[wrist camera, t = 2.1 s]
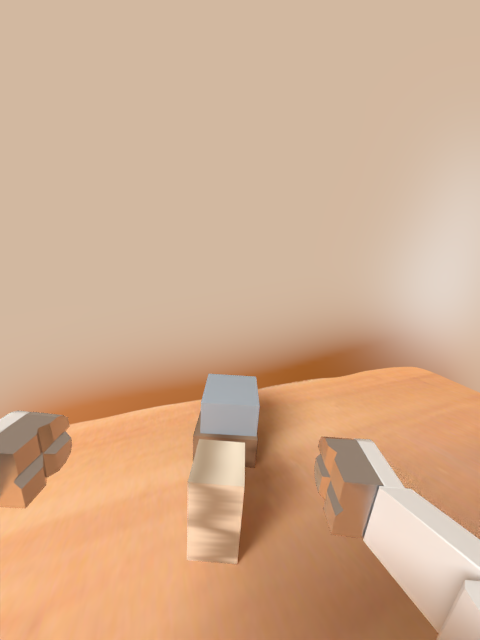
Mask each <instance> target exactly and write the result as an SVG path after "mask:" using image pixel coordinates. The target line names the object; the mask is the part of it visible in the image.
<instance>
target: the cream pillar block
mask: <svg viewBox="0 0 480 640" xmlns="http://www.w3.org/2000/svg"><path fill="white" fill-rule="evenodd" d="M244 487H245V443H243V442H230V441H218V440H205V439H199V441H198V445H197V449H196V453H195V457H194V460H193V464H192V468H191V472H190V476H189V479H188V516H187V560H193V561H205V562H217V563H229V564H237V562H238V551H239V540H240V530H241V519H242V509H243V498H244Z"/></svg>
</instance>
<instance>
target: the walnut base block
mask: <svg viewBox="0 0 480 640" xmlns="http://www.w3.org/2000/svg"><path fill="white" fill-rule="evenodd" d="M200 425H201V411H200V415H199V418H198V422H197V425H196V428H195V432H194V435H193V460H194V457H195V453H196V449H197V445H198V441H199V439H205V440H218V441H230V442H243V443H245V467H250V468H255V461H256V452H257V443H258V437H257V436H241V435H224V434H206V433H200Z"/></svg>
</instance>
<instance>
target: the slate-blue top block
mask: <svg viewBox="0 0 480 640" xmlns="http://www.w3.org/2000/svg"><path fill="white" fill-rule="evenodd" d="M259 408H260V405H259V397H258V389H257V381H256V377H251V376H236V375H235V376H234V375H220V374H209V375H208V379H207V382H206V386H205V390H204V394H203V397H202V401H201V425H200V433H206V434H224V435H241V436H257V427H258V417H259Z"/></svg>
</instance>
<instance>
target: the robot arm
mask: <svg viewBox="0 0 480 640" xmlns="http://www.w3.org/2000/svg"><path fill="white" fill-rule="evenodd" d="M68 428H69V421H68V417H66V416H64V415H56V414H47V413H37V412H25V411H15V412H11V413H9V414H8V415H6V416H4V417H3V418H1V419H0V507H9V508H26V507H27V506H28V505H29V504H30V503H31V502H32V501H33V499H34V498H35V497H36V496H37V495H38V494H39V493H40V492H41V490H42V489H43V488H44V487H45V486H46V483H47V477H49V476H51V475H53V474H54V473H56V472H58V471H59V470H60V469H61V467H62V466H63V465H64V464H65V463H66V461H67V459H68V457H69V455H70V453H71V447H72V440H71V437H70V436H69V435H68V434H67V433H66V430H67V429H68ZM318 448H319V450H320V453H321V454H320V455H319V456H318V457H317V458H316V461H315V481H316V486H317V489H318V493H319V494H320V495H321V496H322V497H323V498H324V499H325V503H324V507H323V509H324V513H325V516H326V519H327V523H328V526H329V529H330V532H331V535H338V536H346V537H354V538H363V541H364V542H365V543H366V545H367V546H368V547H369V548H370V550H371V551H372V552H373V553H374V555H375V556H376V557H377V558H378V560H379V561H380V562H381V563H382V564H383V566H384V567H385V568H386V569H387V571H388V572H389V573H390V574H391V576H392V577H393V578H394V579H395V581H396V582H397V583H398V584H399V585H400V587H401V588H402V589H403V590H404V592H405V593H406V594H407V595H408V597H409V598H410V599H411V600H412V602H413V603H414V604H415V605H416V606H417V608H418V609H419V610H420V611H421V613H422V614H423V615H424V616H425V618H426V619H427V620H428V621H429V623H430V624H431V625H432V626H433V627H434V629H435V630H436V631H437V632H438V636H437V638H436V640H480V539H478V538H477V537H476V536H474V535H473V534H471V533H470V532H469V531H467V530H466V529H465V528H463V527H462V526H461V525H459V524H458V523H457V522H455V521H454V520H453V519H451V518H450V517H448V516H447V515H446V514H444V513H443V512H442V511H440V510H439V509H438V508H436V507H435V506H434V505H432V504H431V503H429V502H428V501H427V500H425V499H424V498H423V497H421V496H420V495H419V494H417V493H416V492H415V491H413V490H412V489H407V488H405V487H404V486H403V484H402V483H401V481H400V480H399V478H398V477H397V475H396V474H395V473H394V471H393V470H392V468H391V467H390V465H389V464H388V462H387V461H386V459H385V458H384V456H383V455H382V454H381V452H380V451H379V449H378V448H377V446H376V445H375V443H374V442H373V441H371V440H370V439H349V438H335V437H321V439H320V440H319V445H318Z"/></svg>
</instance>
